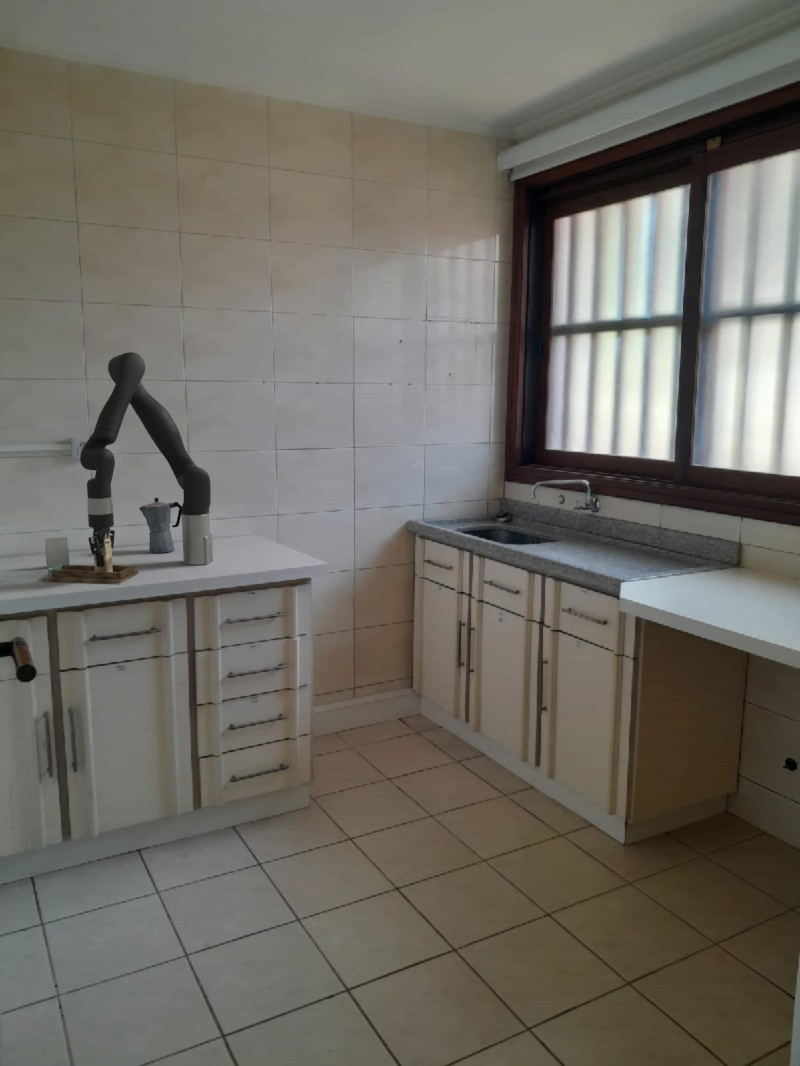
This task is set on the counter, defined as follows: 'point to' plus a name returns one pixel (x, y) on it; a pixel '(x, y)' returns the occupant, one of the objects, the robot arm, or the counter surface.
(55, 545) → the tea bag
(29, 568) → the counter surface
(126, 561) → the counter surface
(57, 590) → the counter surface
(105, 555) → the maple peg
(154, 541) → the moka pot
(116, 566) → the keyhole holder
